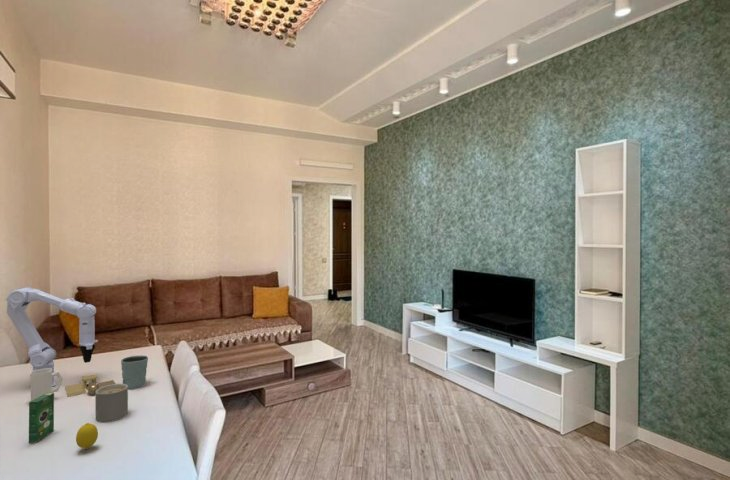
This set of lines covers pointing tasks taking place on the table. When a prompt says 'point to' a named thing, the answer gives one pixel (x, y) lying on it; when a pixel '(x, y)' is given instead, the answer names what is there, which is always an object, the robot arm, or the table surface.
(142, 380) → the teal cup
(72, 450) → the table surface
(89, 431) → the lemon
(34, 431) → the coffee box
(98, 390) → the coffee mug
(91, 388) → the bronze leaf with pin
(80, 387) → the brass leaf
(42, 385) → the mug
